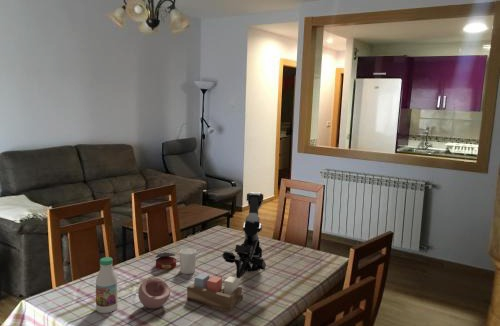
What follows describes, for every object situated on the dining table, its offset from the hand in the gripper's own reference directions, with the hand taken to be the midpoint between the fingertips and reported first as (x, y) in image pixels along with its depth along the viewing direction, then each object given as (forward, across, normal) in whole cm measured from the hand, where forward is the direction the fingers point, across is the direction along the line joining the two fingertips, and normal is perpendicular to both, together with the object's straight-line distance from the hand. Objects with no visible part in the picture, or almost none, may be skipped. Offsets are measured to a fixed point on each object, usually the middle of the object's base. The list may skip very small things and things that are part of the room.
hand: (237, 278), depth 168 cm
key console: (+10, -6, 0) cm, 12 cm away
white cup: (-3, -32, +13) cm, 34 cm away
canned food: (-3, -44, +13) cm, 46 cm away
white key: (+8, 0, 0) cm, 8 cm away
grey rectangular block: (+10, -12, -2) cm, 16 cm away
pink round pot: (+22, -24, -11) cm, 35 cm away
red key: (+10, -6, -2) cm, 12 cm away
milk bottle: (+29, -39, -18) cm, 52 cm away
